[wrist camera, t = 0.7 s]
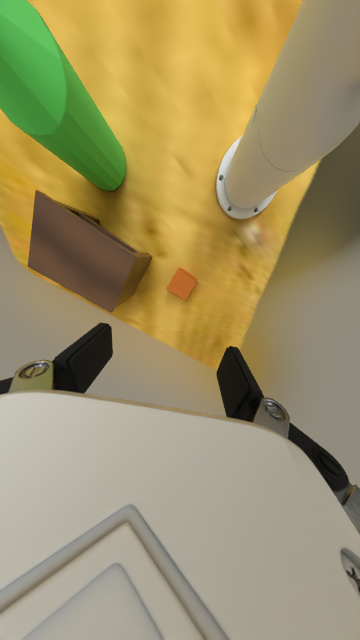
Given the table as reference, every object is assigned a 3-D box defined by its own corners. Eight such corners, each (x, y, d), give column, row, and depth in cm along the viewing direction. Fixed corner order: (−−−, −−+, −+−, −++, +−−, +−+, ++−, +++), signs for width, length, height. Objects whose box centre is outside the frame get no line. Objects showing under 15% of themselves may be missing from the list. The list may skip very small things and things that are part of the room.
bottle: (76, 158, 27) (-431, -279, 5) (103, 117, 25) (-686, -1160, 2) (108, 202, 30) (-118, 55, 8) (136, 171, 28) (-83, -182, 5)
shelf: (92, 213, 31) (35, 189, 20) (153, 255, 35) (136, 256, 23) (79, 262, 36) (27, 266, 25) (133, 295, 40) (111, 312, 28)
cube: (179, 267, 35) (178, 269, 31) (196, 278, 37) (197, 282, 32) (169, 284, 38) (166, 288, 33) (185, 294, 39) (184, 300, 34)
